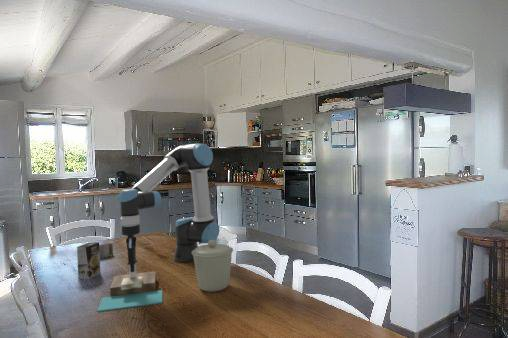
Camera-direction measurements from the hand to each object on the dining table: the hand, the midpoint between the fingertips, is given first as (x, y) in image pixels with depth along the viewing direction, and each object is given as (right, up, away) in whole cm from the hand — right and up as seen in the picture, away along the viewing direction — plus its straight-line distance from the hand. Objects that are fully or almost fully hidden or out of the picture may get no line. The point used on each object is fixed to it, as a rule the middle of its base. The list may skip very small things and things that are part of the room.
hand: (133, 278), depth 155 cm
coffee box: (-29, -6, +22) cm, 37 cm away
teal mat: (+3, -6, -11) cm, 13 cm away
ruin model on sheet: (-37, -5, +56) cm, 67 cm away
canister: (+36, -4, 0) cm, 36 cm away
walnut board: (0, -5, +3) cm, 6 cm away
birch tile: (+1, -2, -4) cm, 5 cm away
